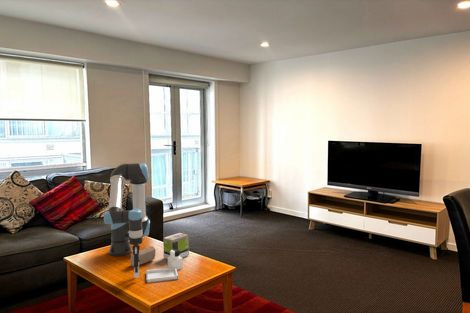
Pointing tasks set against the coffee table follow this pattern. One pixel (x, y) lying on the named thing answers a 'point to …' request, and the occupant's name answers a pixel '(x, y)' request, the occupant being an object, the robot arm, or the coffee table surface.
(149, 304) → the coffee table surface
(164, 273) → the tray
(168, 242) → the tea box
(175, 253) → the medicine bottle
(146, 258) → the brick
